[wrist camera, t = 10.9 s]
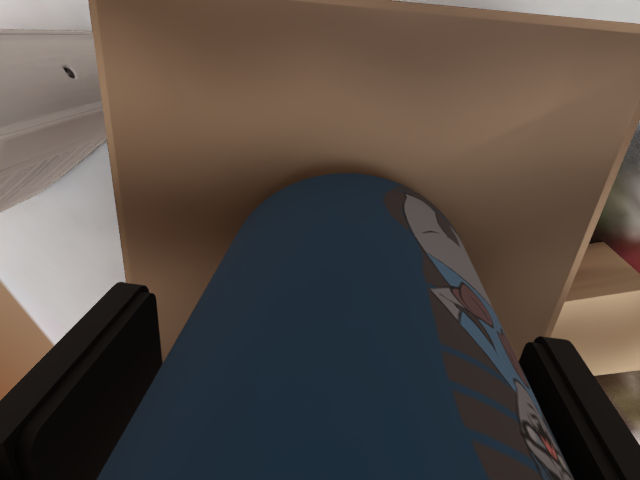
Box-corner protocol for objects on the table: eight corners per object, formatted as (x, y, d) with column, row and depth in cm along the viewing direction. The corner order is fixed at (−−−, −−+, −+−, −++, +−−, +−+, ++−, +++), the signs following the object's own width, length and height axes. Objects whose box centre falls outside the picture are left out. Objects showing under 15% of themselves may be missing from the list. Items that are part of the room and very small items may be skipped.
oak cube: (601, 311, 24) (649, 368, 20) (516, 324, 25) (546, 381, 21) (602, 240, 22) (655, 287, 18) (510, 257, 23) (541, 305, 19)
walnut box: (460, 308, 25) (506, 444, 17) (212, 277, 25) (141, 393, 17) (539, 28, 18) (677, 27, 10) (204, -4, 19) (84, -29, 11)
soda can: (226, 325, 15) (-91, 1052, 4) (256, 132, 12) (-585, 1031, 1) (417, 369, 15) (554, 1164, 5) (495, 190, 12) (1479, 1376, 2)
